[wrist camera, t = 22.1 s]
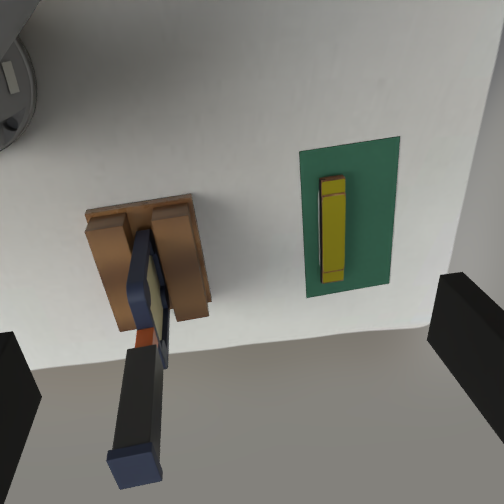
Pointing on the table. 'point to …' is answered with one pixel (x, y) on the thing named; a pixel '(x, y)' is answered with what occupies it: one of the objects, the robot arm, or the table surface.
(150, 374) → the racket
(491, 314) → the robot arm
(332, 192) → the harmonica
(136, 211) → the stand
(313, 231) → the mat
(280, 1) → the table surface
